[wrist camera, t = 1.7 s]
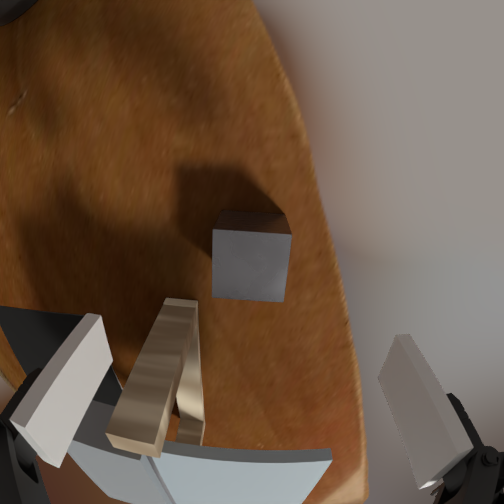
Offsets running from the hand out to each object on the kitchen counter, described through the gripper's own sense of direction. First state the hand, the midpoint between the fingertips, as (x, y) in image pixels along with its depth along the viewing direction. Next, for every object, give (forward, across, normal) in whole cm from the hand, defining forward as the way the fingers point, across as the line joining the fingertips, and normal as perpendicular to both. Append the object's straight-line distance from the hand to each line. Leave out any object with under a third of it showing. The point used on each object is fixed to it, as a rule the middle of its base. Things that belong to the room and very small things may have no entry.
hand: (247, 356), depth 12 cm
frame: (+13, -6, -16) cm, 21 cm away
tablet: (+14, -25, -24) cm, 37 cm away
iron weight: (+13, 0, 0) cm, 13 cm away
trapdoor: (+2, -4, -16) cm, 16 cm away
